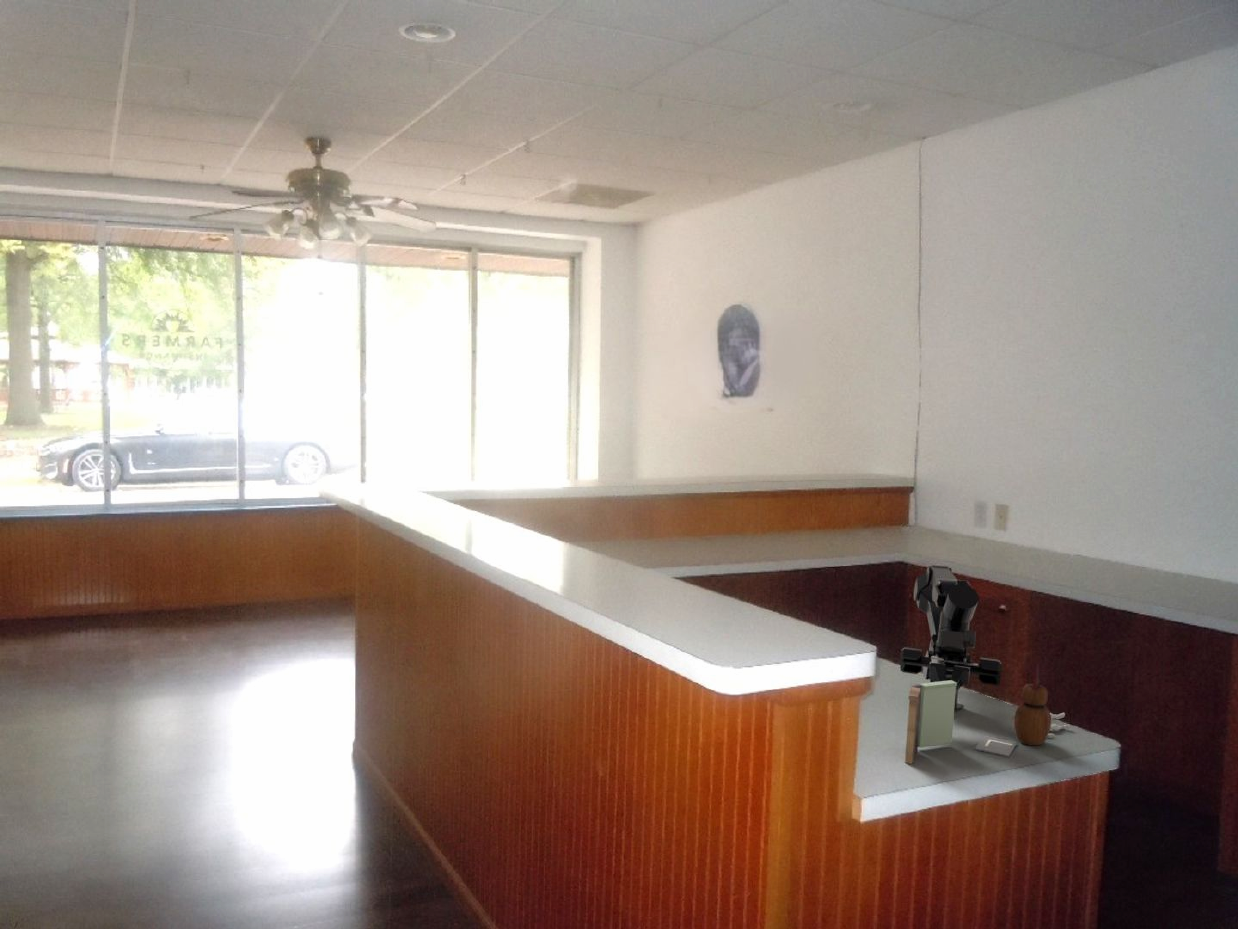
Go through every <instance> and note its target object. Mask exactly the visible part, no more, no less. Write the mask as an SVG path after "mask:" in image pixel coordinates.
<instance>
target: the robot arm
mask: <svg viewBox="0 0 1238 929" xmlns="http://www.w3.org/2000/svg"><path fill="white" fill-rule="evenodd" d="M979 599H980V597H979V594H978V592H977V591H976V590H975V589H974V588H973V586H971V585H970V582H969V581H967V580H963V579H962V580H961V579H957V578H956V576H955V575H954V574H953V569H952V567H949V566H948V565H947V566H946V565H935V564H934V565H930V566H929V565H928V566H927V568H926V571H925V572H923V573H922V574H920V575H919V576H917V577H916V580H915V584H914V588H913V600H914V602H915V601H916V605H917V608H918V610H919V611H922V612H923V613H925V614H926V616H927V621H928V627H929V631H930V632H929V633H930V637H931V640H930V641H929V649H928V650H926V653H925V656H923V649H920V648H914V647H906V646H904V647H903V648H902V649H901V650H900V656H899V662H900V664H899V665H900V672H902V673H905V674H912V675H918V674H919V673H921V672H922V674H923V676H924V678H925V680H929V683H931V682H940V681H949V680H952V681H954V682H956V683H957V687H956V693H955V706H954V712H956V711H959V710H961V709H964V707H965V705H964V704H962V703H958V698H959V696H958V695H959V690H960V689H961V687H963V685H964V686H967V685H969V683H970V675H971V674H974V675H978V681H980V683H981V684H983V685H989V686H990V685H991V686H996V687H997V686H1000V685H1001V675H1002V665H1003V664H1002V662H1001V661H1000V660H999V659H996V658H989V657H980V658H979V659H980V660H979V663H976V662H975V663H974V662H973V661H972V659H971V656H970V653H968V649H971V650H974V649H975V646H976V633H977V631H975V630H970V622H971V621H972V619H973V618H974V617H973V616H974V614H975V612H976V609H977V606H978V604H979Z"/></svg>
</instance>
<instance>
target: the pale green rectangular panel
mask: <svg viewBox="0 0 1238 929" xmlns="http://www.w3.org/2000/svg"><path fill="white" fill-rule="evenodd" d="M919 684H920V685H922V696H921V710H920V723H919V737H918V749H919V748H927V747H934V746H940V745H942V746H943V745H949V744H952V743H953V733H954V732H953V730H954V718H955V711H954V706H955V693H956V687H957V683H956V682H954V681H952V680H949V681H940V682H931V683H930V682H925V683H924V682H923V683H919Z"/></svg>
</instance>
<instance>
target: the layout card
mask: <svg viewBox="0 0 1238 929" xmlns="http://www.w3.org/2000/svg"><path fill="white" fill-rule="evenodd" d="M1016 744H1018V742H1016V741H1011V740H1005V739H1002V738H997V737H993V736H988V735H983V737H982V738H981V739H980V741H979V742H978V744H977V745H976V747H974V750H975V749H976V751H979V752H983V751H984V752H983V753H988V754H993V755H997V754H999V755H998V756H1001V755H1003V756H1002V757H1005V756H1006V757H1007V758H1010V756H1011V755H1012V753H1013V751H1014V750H1015V748H1016V746H1017V745H1016ZM1013 749H1014V750H1013ZM1010 754H1011V755H1010ZM1006 757H1005V758H1006Z"/></svg>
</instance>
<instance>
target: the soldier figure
mask: <svg viewBox="0 0 1238 929" xmlns="http://www.w3.org/2000/svg"><path fill="white" fill-rule="evenodd" d="M1050 715H1051V720H1053V719H1055V720H1060V719H1063V718H1064V717H1065V716H1066V713H1065V712H1062V713H1059V714H1055V713H1054V714H1053V713H1052V712H1050ZM1014 718H1015V716H1013V717H1012V719H1013V720H1014ZM1067 725H1068V726H1067ZM1070 728H1071V725H1070V724H1063V725H1058V724H1056V723H1051V727H1050V730H1049V733H1048V735H1047V737H1046V738H1050V739H1053V738H1055V737H1056V735H1055V734H1054V733H1052V731H1056V732H1058V731H1060V730H1069V729H1070ZM1050 732H1051V733H1050Z"/></svg>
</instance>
